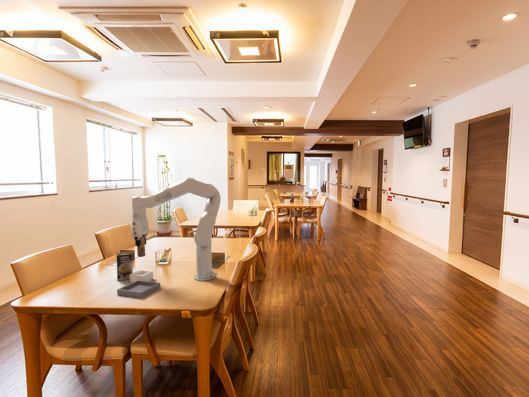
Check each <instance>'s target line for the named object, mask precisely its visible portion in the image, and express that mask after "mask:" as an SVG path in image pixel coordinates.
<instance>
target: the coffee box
mask: <svg viewBox="0 0 529 397" xmlns="http://www.w3.org/2000/svg"><path fill="white" fill-rule="evenodd" d="M115 256H116V280H117V282H121V281H126V280H127V281H128V280H130V274H132V273H134V272H133V271H134V270H133V269H134V268H133V252H120V253H115Z"/></svg>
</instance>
